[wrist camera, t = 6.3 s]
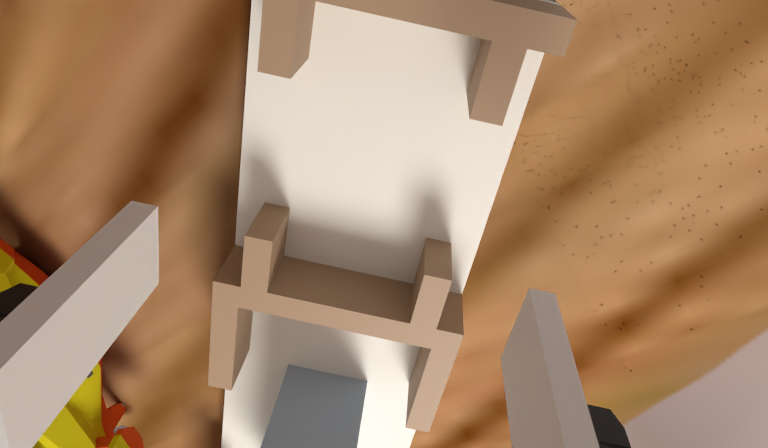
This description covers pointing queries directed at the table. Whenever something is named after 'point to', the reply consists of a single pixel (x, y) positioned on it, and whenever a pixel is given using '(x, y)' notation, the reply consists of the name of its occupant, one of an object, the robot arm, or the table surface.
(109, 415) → the toy boat
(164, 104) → the table surface
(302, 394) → the block
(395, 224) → the jig
